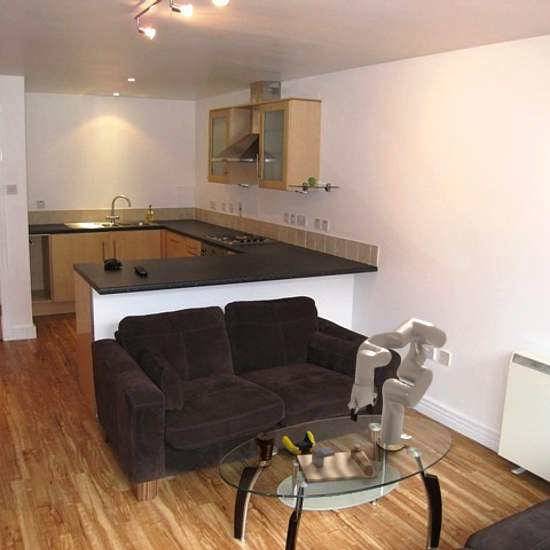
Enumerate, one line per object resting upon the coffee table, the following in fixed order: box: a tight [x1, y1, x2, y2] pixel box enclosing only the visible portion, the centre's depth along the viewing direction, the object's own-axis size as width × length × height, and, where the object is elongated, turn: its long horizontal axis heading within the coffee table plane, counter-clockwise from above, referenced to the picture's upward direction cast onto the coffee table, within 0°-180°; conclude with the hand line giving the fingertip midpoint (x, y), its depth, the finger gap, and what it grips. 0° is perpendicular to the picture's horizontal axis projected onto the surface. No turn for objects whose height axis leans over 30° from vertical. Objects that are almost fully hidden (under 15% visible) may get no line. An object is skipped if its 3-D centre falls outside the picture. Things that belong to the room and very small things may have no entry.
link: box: [350, 446, 374, 476], centre depth 257 cm, size 18×4×3 cm, turn 16°
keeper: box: [311, 445, 336, 468], centre depth 257 cm, size 8×5×6 cm, turn 113°
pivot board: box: [296, 443, 378, 482], centre depth 257 cm, size 30×18×7 cm, turn 101°
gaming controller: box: [281, 430, 316, 455], centre depth 270 cm, size 15×6×10 cm
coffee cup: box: [254, 431, 276, 462], centre depth 257 cm, size 9×8×13 cm
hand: (361, 417), depth 256 cm, fingers open, 9 cm apart
